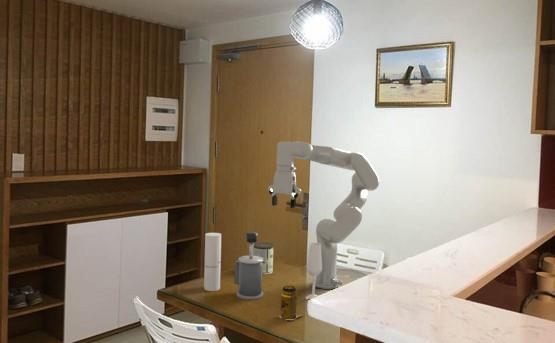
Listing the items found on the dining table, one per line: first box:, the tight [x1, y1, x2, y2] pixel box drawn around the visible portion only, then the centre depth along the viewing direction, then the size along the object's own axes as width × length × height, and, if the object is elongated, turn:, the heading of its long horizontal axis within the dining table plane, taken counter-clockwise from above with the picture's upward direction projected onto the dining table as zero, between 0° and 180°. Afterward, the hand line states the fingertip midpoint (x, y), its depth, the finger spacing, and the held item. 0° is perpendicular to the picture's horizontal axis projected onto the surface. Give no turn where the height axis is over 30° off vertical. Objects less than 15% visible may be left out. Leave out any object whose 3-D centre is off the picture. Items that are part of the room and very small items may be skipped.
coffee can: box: [253, 242, 274, 275], centre depth 253 cm, size 10×10×14 cm
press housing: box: [233, 255, 264, 301], centre depth 216 cm, size 14×12×16 cm
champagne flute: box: [305, 242, 322, 300], centre depth 215 cm, size 7×7×24 cm
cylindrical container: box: [203, 232, 222, 292], centre depth 223 cm, size 7×7×25 cm
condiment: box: [280, 285, 298, 320], centre depth 192 cm, size 7×8×12 cm
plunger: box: [245, 231, 259, 259], centre depth 215 cm, size 5×5×11 cm
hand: (283, 206), depth 224 cm, fingers open, 9 cm apart
